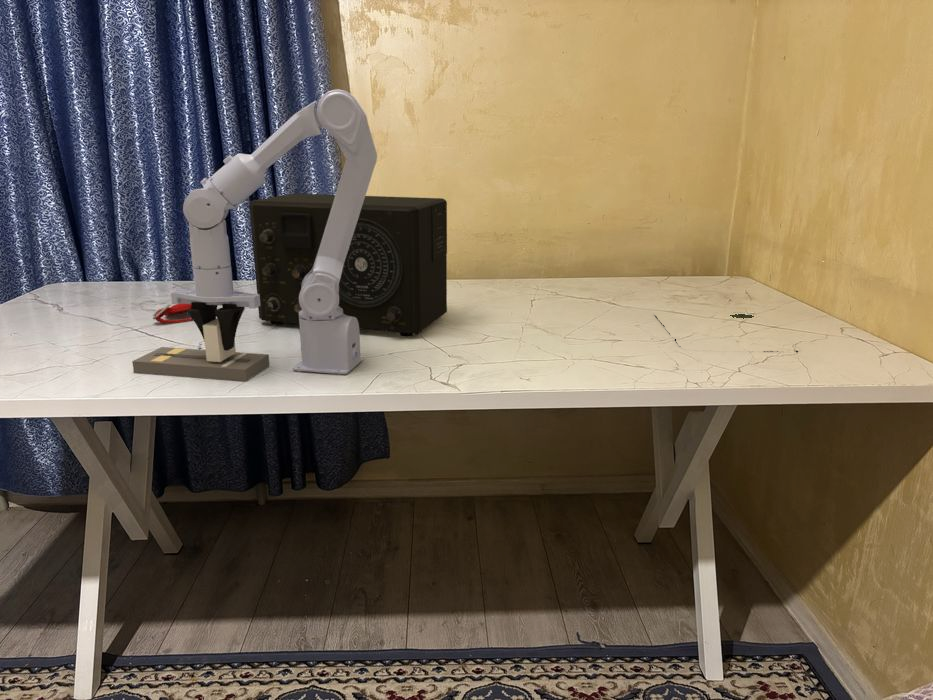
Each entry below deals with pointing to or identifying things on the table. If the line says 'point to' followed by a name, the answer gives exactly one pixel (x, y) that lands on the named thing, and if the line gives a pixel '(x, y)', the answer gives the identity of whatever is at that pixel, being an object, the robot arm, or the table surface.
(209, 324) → the fader tab
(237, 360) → the fader console
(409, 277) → the vintage radio
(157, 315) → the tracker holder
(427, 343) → the table surface
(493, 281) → the table surface
